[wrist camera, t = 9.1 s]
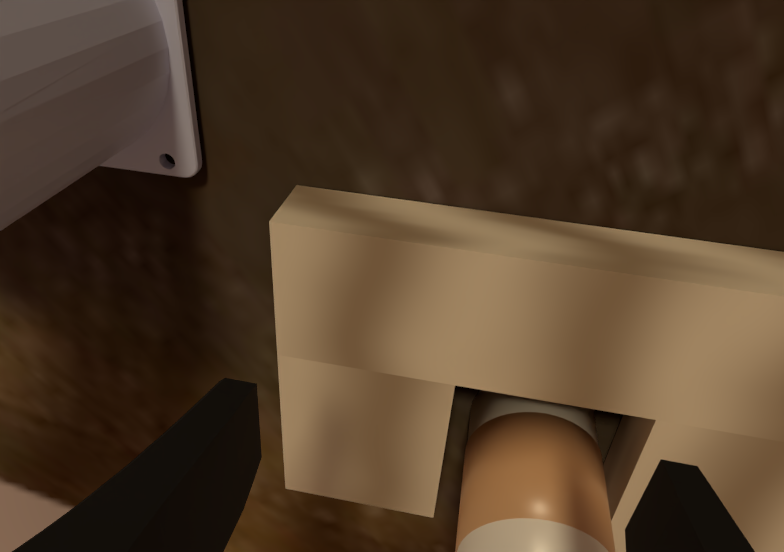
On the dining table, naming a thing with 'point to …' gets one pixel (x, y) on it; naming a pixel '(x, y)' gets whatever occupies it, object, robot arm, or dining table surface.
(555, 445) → the bobbin
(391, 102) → the dining table surface
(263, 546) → the dining table surface
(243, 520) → the dining table surface
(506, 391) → the notched board
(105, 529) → the robot arm
